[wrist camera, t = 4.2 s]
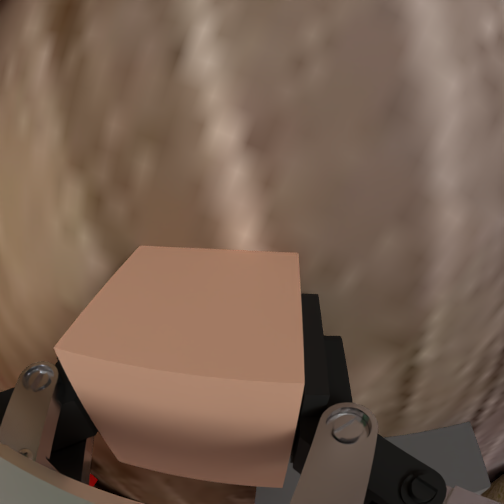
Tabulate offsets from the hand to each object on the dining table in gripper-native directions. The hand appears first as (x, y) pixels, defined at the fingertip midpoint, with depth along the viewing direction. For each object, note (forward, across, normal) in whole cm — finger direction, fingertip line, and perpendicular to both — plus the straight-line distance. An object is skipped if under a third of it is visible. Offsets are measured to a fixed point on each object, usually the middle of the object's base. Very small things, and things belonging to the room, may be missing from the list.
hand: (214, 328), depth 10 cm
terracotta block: (+1, 0, 0) cm, 1 cm away
